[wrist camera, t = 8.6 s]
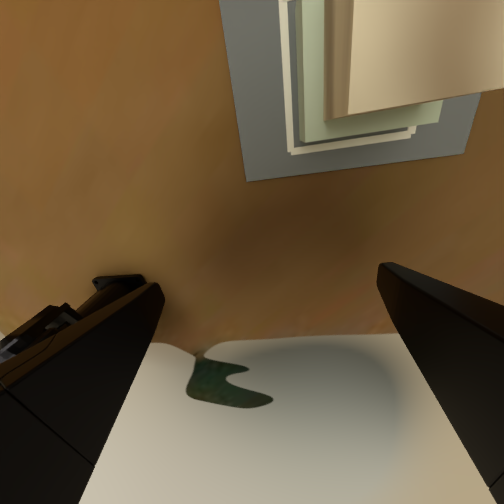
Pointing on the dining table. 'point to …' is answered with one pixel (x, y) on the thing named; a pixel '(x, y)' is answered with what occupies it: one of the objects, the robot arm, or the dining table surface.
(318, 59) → the sage block
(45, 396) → the robot arm
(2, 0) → the dining table surface
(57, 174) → the dining table surface
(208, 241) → the dining table surface
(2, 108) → the dining table surface
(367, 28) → the birch cube
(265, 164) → the slate mat
